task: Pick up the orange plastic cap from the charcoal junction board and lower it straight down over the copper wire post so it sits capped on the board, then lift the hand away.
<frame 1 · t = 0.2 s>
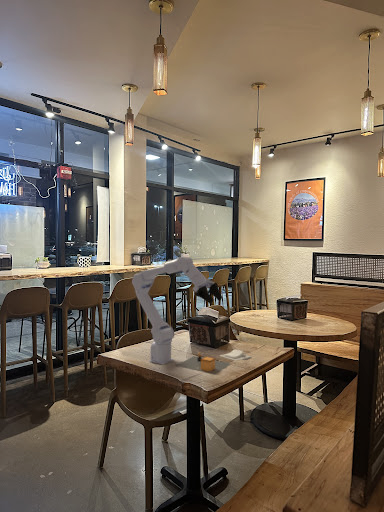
hand: (216, 300, 148), 31 cm above the table, tool tilted 45°, fingers open, 7 cm apart
junction board: (203, 366, 156), on the table
orange cap: (207, 369, 150), point 1 cm above the table, touching junction board
wire post: (199, 362, 162), resting on junction board
light switch: (235, 359, 170), on the table
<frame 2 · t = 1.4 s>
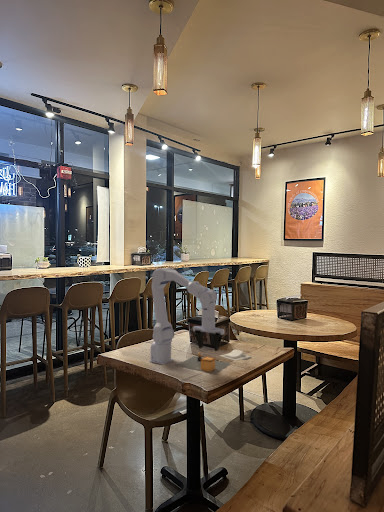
hand: (208, 349, 150), 10 cm above the table, tool pointing down, fingers open, 7 cm apart
nothing on the table moved.
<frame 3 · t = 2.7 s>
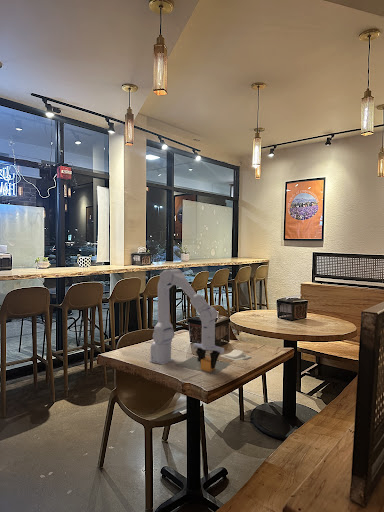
hand: (207, 367, 150), 2 cm above the table, tool pointing down, fingers closed on orange cap, 5 cm apart
orange cap: (207, 369, 150), point 1 cm above the table, touching gripper, junction board
everything else where it was.
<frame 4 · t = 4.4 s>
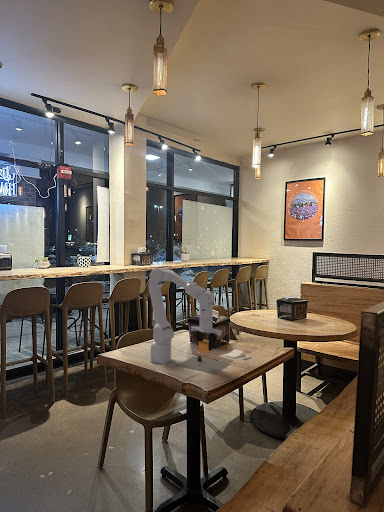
hand: (205, 349, 153), 9 cm above the table, tool pointing down, fingers closed on orange cap, 5 cm apart
orange cap: (205, 351, 153), point 8 cm above the table, touching gripper
everything else where it was.
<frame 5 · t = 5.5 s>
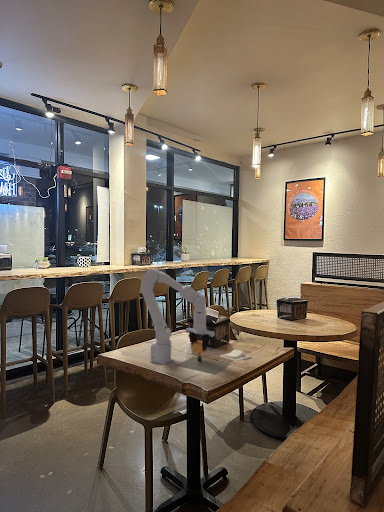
hand: (199, 349, 162), 6 cm above the table, tool pointing down, fingers closed on orange cap, 5 cm apart
orange cap: (199, 351, 162), point 5 cm above the table, touching gripper
everything else where it was.
when the fingers open (3 cm above the table, at t = 6.4 s): orange cap drops 2 cm, resting on junction board.
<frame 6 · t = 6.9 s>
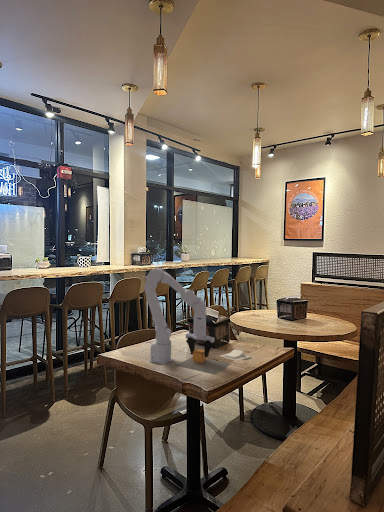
hand: (199, 355, 162), 3 cm above the table, tool pointing down, fingers open, 7 cm apart
orange cap: (199, 360, 162), point 1 cm above the table, touching junction board
everything else where it was.
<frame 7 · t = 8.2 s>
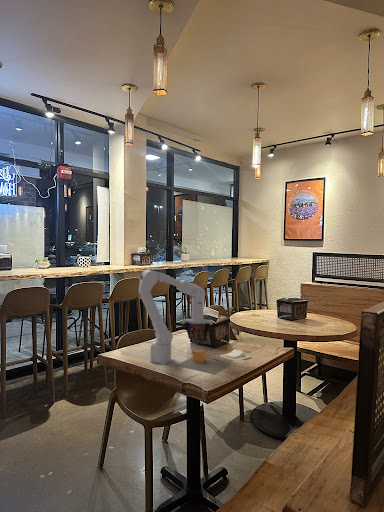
hand: (197, 338, 169), 9 cm above the table, tool pointing down, fingers open, 7 cm apart
nothing on the table moved.
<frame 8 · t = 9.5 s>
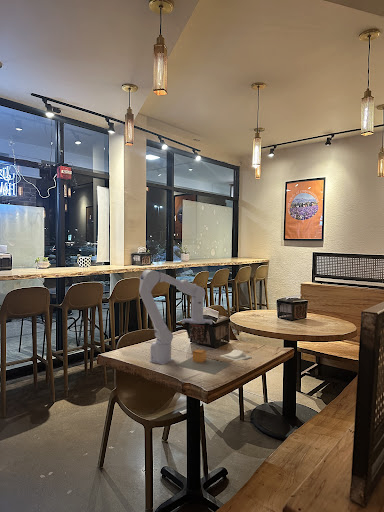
hand: (197, 338, 169), 9 cm above the table, tool pointing down, fingers open, 7 cm apart
nothing on the table moved.
at the end: orange cap 0.1 cm off-centre on the wire post, point 1.0 cm above the wire post's base; orange cap tilted 0°; the gripper is holding nothing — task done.
